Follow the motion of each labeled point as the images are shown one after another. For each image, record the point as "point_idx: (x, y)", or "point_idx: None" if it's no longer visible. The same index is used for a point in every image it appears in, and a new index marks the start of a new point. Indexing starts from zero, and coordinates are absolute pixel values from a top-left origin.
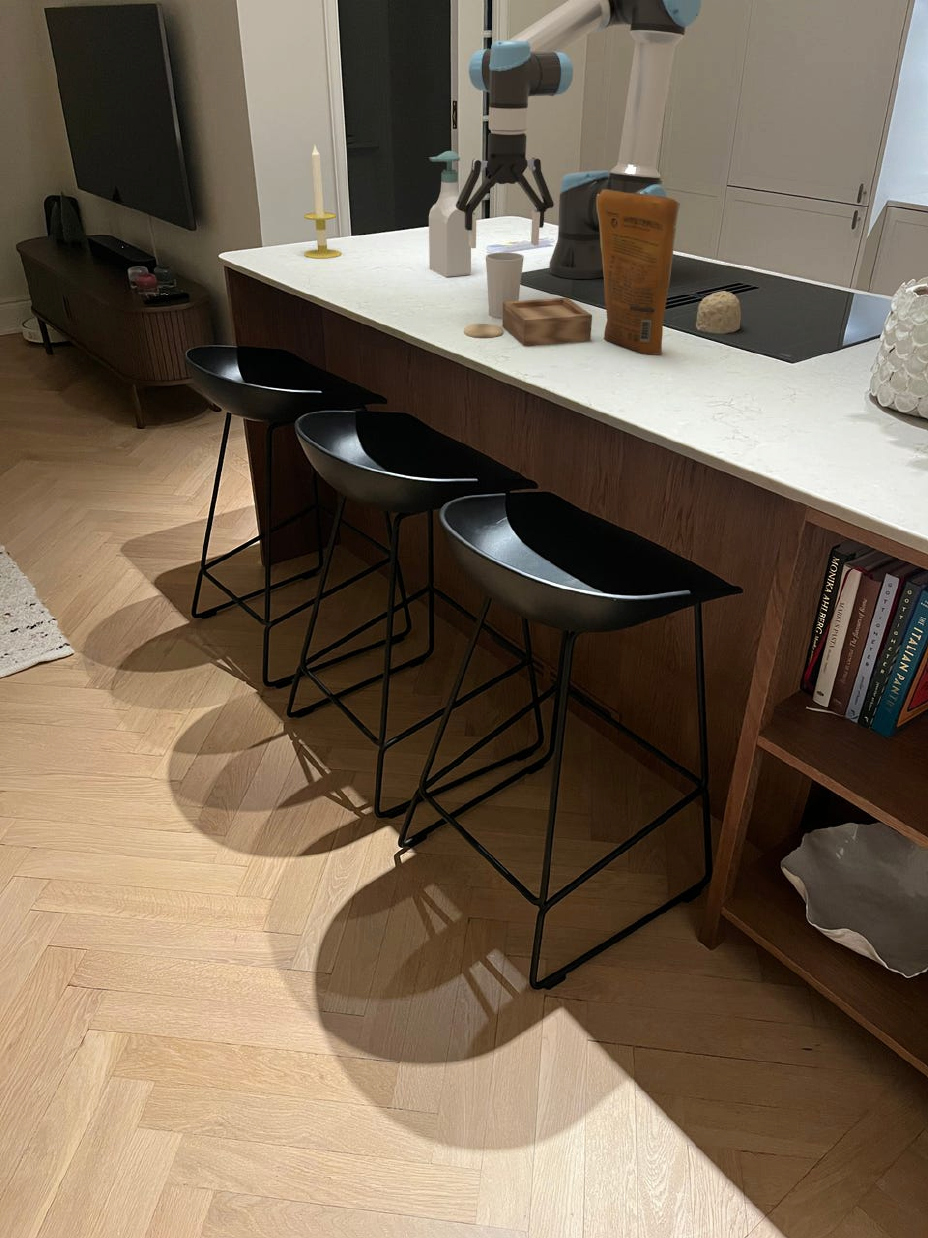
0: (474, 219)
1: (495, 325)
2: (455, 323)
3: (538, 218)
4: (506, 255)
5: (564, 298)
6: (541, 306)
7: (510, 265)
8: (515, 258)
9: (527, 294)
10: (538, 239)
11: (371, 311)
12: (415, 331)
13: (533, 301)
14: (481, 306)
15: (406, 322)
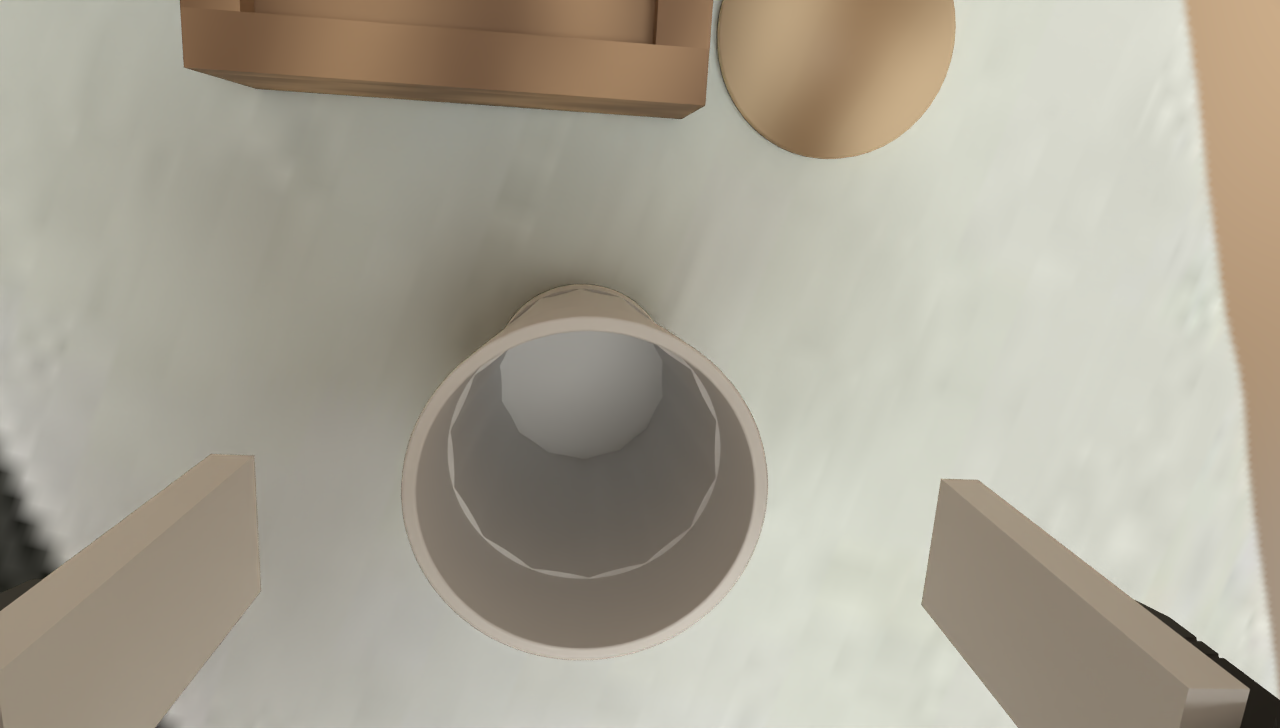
0: (1161, 640)
1: (739, 91)
2: (910, 270)
3: (31, 608)
4: (517, 619)
5: (214, 44)
6: (429, 23)
7: (591, 313)
8: (452, 552)
9: (297, 724)
10: (183, 476)
11: (1214, 616)
12: (1170, 187)
13: (483, 40)
14: None
15: (1141, 371)
